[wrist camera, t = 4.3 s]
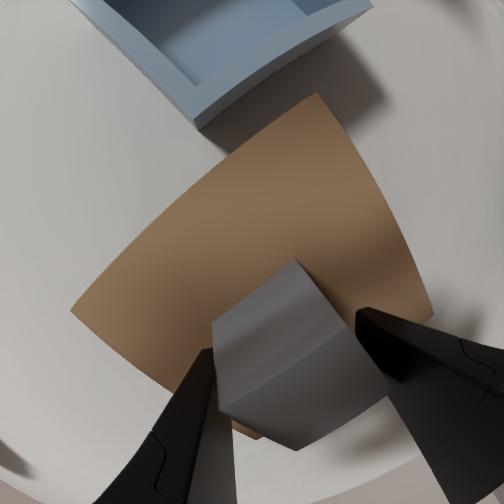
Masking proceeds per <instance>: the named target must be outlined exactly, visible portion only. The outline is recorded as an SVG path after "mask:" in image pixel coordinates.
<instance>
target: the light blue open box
mask: <svg viewBox="0 0 504 504" xmlns="http://www.w3.org/2000/svg"><path fill="white" fill-rule="evenodd" d="M69 1H70V2H71V3H72V4H73V5H74V6H75V7H76V8H77V9H78V10H79V11H80V12H81V13H82V14H83V15H84V16H85V17H86V18H87V19H88V20H89V21H90V22H91V23H92V24H93V25H94V26H95V27H96V28H97V29H98V30H99V31H100V32H101V33H102V34H103V35H104V36H105V37H106V38H107V39H108V40H109V41H110V42H111V43H112V44H114V45H115V46H116V47H117V48H118V49H119V50H120V51H121V52H122V53H123V54H124V55H125V56H126V57H127V58H128V59H129V60H130V61H131V62H132V63H133V64H134V65H135V66H136V67H137V68H138V69H139V70H140V71H141V72H142V73H143V74H144V75H145V76H146V77H147V78H148V79H149V80H150V81H151V82H152V83H153V84H154V85H155V86H156V87H157V88H158V89H159V90H160V91H161V92H162V93H163V94H164V96H165V97H166V98H167V99H168V100H169V101H170V102H171V103H172V104H173V105H174V106H175V107H176V108H177V109H178V110H179V111H180V112H181V113H182V114H183V115H184V117H185V118H186V119H187V120H188V121H189V122H190V123H191V124H192V125H193V126H194V127H195V128H196V129H197V131H199V130H200V129H201V128H203V127H204V126H205V125H206V124H207V123H209V122H210V121H211V120H212V119H213V118H215V117H216V116H217V115H218V114H220V113H221V112H222V111H223V110H225V109H226V108H227V107H228V106H230V105H231V104H232V103H234V102H235V101H236V100H237V99H239V98H240V97H241V96H243V95H244V94H245V93H247V92H248V91H249V90H251V89H252V88H254V87H255V86H256V85H258V84H259V83H261V82H262V81H263V80H265V79H266V78H268V77H269V76H271V75H272V74H274V73H275V72H277V71H278V70H280V69H281V68H283V67H284V66H286V65H287V64H289V63H290V62H292V61H293V60H295V59H297V58H298V57H300V56H301V55H303V54H305V53H306V52H308V51H310V50H311V49H313V48H315V47H316V46H318V45H320V44H322V43H323V42H325V41H327V40H329V39H331V38H332V37H334V36H335V35H336V34H337V33H339V32H340V31H341V30H342V29H344V28H345V27H346V26H348V25H349V24H350V23H352V22H353V21H354V20H356V19H357V18H359V17H360V16H361V15H363V14H364V13H365V12H367V11H368V10H370V9H371V8H373V7H374V6H373V5H372V3H371V2H370V1H369V0H69Z"/></svg>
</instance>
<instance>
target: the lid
mask: <svg viewBox="0 0 504 504" xmlns="http://www.w3.org/2000/svg"><path fill="white" fill-rule="evenodd" d="M364 307H371V308H374V309H377V310H380V311H383V312H386V313H389V314H392V315H394V316H397V317H400V318H403V319H406V320H409V321H412V322H415V323H418V324H421V325H423V324H424V323H425V322H426V321H427V320H428V319H429V318H431V317H432V316H433V315H434V313H433V310H432V307H431V304H430V301H429V298H428V295H427V293H426V290H425V287H424V285H423V282H422V279H421V277H420V274H419V272H418V269H417V267H416V264H415V262H414V260H413V257H412V255H411V253H410V250H409V248H408V246H407V243H406V241H405V239H404V237H403V235H402V233H401V230H400V228H399V226H398V224H397V222H396V220H395V218H394V216H393V214H392V212H391V210H390V208H389V206H388V204H387V202H386V200H385V198H384V196H383V195H382V193H381V191H380V189H379V187H378V185H377V184H376V182H375V180H374V178H373V177H372V175H371V173H370V171H369V170H368V168H367V166H366V164H365V163H364V161H363V159H362V158H361V156H360V155H359V153H358V151H357V150H356V148H355V146H354V145H353V143H352V142H351V140H350V139H349V137H348V136H347V134H346V133H345V131H344V130H343V128H342V127H341V125H340V124H339V122H338V121H337V119H336V118H335V116H334V115H333V113H332V112H331V111H330V109H329V108H328V106H327V105H326V104H325V102H324V101H323V100H322V98H321V97H320V96H319V94H318V93H315V94H313V95H311V96H309V97H307V98H306V99H304V100H303V101H301V102H300V103H298V104H297V105H295V106H294V107H293V108H291V109H290V110H288V111H287V112H285V113H284V114H283V115H281V116H280V117H278V118H277V119H276V120H274V121H273V122H272V123H270V124H269V125H267V126H266V127H265V128H263V129H262V130H261V131H259V132H258V133H257V134H255V135H254V136H253V137H251V138H250V139H249V140H247V141H246V142H245V143H244V144H242V145H241V146H240V147H238V148H237V149H236V150H235V151H233V152H232V153H231V154H230V155H228V156H227V157H226V158H225V159H223V160H222V161H221V162H220V163H219V164H217V165H216V166H215V167H214V168H213V169H211V170H210V171H209V172H208V173H207V174H205V175H204V176H203V177H202V178H201V179H199V180H198V181H197V182H196V183H195V184H194V185H192V186H191V187H190V188H189V189H188V190H187V191H186V192H184V193H183V194H182V195H181V196H180V197H179V198H178V199H177V200H176V201H174V202H173V203H172V204H171V205H170V206H169V207H168V208H167V209H166V210H165V211H163V212H162V213H161V214H160V215H159V216H158V217H157V218H156V219H155V220H154V221H153V222H152V223H151V224H150V225H149V226H148V227H147V228H146V229H144V230H143V231H142V232H141V233H140V234H139V235H138V236H137V237H136V238H135V239H134V240H133V241H132V242H131V243H130V244H129V245H128V246H127V247H126V248H125V249H124V250H123V251H122V252H121V253H120V254H119V255H118V256H117V258H116V259H115V260H114V261H113V262H112V263H111V264H110V265H109V266H108V267H107V268H106V269H105V270H104V271H103V272H102V273H101V274H100V276H99V277H98V278H97V279H96V280H95V281H94V282H93V283H92V284H91V285H90V287H89V288H88V289H87V290H86V291H85V292H84V293H83V294H82V296H81V297H80V298H79V299H78V300H77V302H76V303H75V304H74V306H73V307H72V308H71V310H70V311H71V312H72V313H73V314H74V315H75V316H76V317H77V318H78V319H79V320H80V321H81V322H83V323H84V324H85V325H86V326H87V327H88V328H89V329H90V330H91V331H92V332H94V333H95V334H96V335H97V336H98V337H99V338H100V339H102V340H103V341H104V342H105V343H106V344H107V345H109V346H110V347H111V348H112V349H113V350H115V351H116V352H117V353H118V354H120V355H121V356H122V357H123V358H125V359H126V360H127V361H128V362H130V363H131V364H132V365H134V366H135V367H136V368H138V369H139V370H140V371H142V372H143V373H144V374H146V375H147V376H148V377H150V378H151V379H153V380H154V381H156V382H157V383H158V384H160V385H161V386H163V387H164V388H166V389H167V390H169V391H170V392H172V393H173V394H174V393H175V391H176V389H177V388H178V386H179V385H180V383H181V381H182V380H183V378H184V377H185V375H186V373H187V372H188V370H189V369H190V367H191V365H192V364H193V362H194V361H195V359H196V357H197V356H198V354H199V353H200V351H201V350H202V349H205V348H210V347H213V355H214V365H215V385H216V398H217V410H218V412H219V413H221V414H223V415H225V416H226V417H228V418H230V419H232V428H233V429H235V430H236V431H238V432H240V433H242V434H244V435H246V436H248V437H250V438H253V439H255V440H258V439H260V438H262V437H266V438H268V439H270V440H272V441H274V442H276V443H279V444H281V445H283V446H285V447H287V448H290V449H292V450H294V451H298V450H300V449H302V448H304V447H306V446H308V445H310V444H311V443H313V442H315V441H317V440H319V439H320V438H322V437H324V436H326V435H327V434H329V433H331V432H333V431H334V430H336V429H338V428H339V427H341V426H342V425H344V424H346V423H347V422H349V421H350V420H352V419H353V418H355V417H357V416H358V415H360V414H361V413H363V412H364V411H365V410H367V409H368V408H370V407H371V406H373V405H374V404H375V403H377V402H378V401H380V400H381V399H382V398H384V397H385V396H386V395H388V394H389V393H390V392H392V391H393V390H394V389H393V388H392V387H391V385H390V384H389V382H388V381H387V380H386V378H385V377H384V375H383V374H382V373H381V371H380V370H379V369H378V367H377V366H376V364H375V363H374V362H373V360H372V359H371V358H370V356H369V355H368V354H367V352H366V351H365V349H364V348H363V347H362V345H361V344H360V343H359V341H358V340H357V338H356V335H355V313H356V311H357V310H358V309H361V308H364Z"/></svg>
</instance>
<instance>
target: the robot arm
mask: <svg viewBox="0 0 504 504" xmlns="http://www.w3.org/2000/svg"><path fill="white" fill-rule="evenodd" d="M355 335H356V338H357V340H358V341H359V343H360V344H361V345H362V347H363V348H364V349H365V351H366V352H367V354H368V355H369V356H370V358H371V359H372V360H373V362H374V363H375V364H376V366H377V367H378V369H379V370H380V371H381V373H382V374H383V375H384V377H385V378H386V380H387V381H388V382H389V384H390V385H391V387H392V388H393V389H394V390H393V391H392V392H390V393H389V394H388V395H387V396H388V397H389V399H390V401H391V402H392V404H393V405H394V407H395V409H396V410H397V412H398V414H399V415H400V417H401V419H402V420H403V422H404V424H405V425H406V427H407V429H408V430H409V432H410V434H411V435H412V437H413V439H414V440H415V442H416V444H417V446H418V447H419V449H420V451H421V452H422V454H423V456H424V458H425V459H426V461H427V463H428V465H429V466H430V468H431V469H432V472H433V474H434V475H435V477H436V479H437V481H438V483H439V485H440V486H441V488H442V490H443V492H444V494H445V496H446V497H447V499H448V501H449V503H450V504H476V503H477V502H479V501H480V500H481V499H483V498H484V497H486V496H487V495H489V494H490V493H491V492H493V493H494V495H495V496H496V498H497V500H498V501H499V502H500V504H504V350H503V349H499V348H494V347H490V346H486V345H482V344H479V343H476V342H472V341H469V340H466V339H463V338H458V337H457V336H454V335H451V334H448V333H445V332H442V331H439V330H436V329H433V328H430V327H427V326H424V325H421V324H418V323H415V322H412V321H409V320H406V319H403V318H400V317H397V316H394V315H392V314H389V313H386V312H383V311H380V310H377V309H374V308H371V307H364V308H361V309H358V310H357V311H356V313H355ZM92 504H237V496H236V482H235V468H234V452H233V435H232V419H230V418H228V417H226V416H225V415H223V414H221V413H219V412H218V410H217V398H216V385H215V365H214V355H213V347H210V348H205V349H202V350H201V351H200V353H199V354H198V356H197V357H196V359H195V361H194V362H193V364H192V365H191V367H190V369H189V370H188V372H187V373H186V375H185V377H184V378H183V380H182V381H181V383H180V385H179V386H178V388H177V389H176V391H175V393H174V394H173V396H172V397H171V399H170V401H169V402H168V404H167V405H166V407H165V409H164V410H163V412H162V413H161V415H160V417H159V418H158V420H157V421H156V423H155V425H154V426H153V428H152V431H150V432H149V434H148V435H147V437H146V439H145V440H144V442H143V443H142V445H141V446H140V448H139V449H138V451H137V452H136V453H135V455H134V456H133V457H132V459H131V460H130V461H129V463H128V464H127V465H126V466H125V468H124V469H123V470H122V471H121V472H120V474H119V475H118V476H117V477H116V478H115V479H114V481H113V482H112V483H111V484H110V485H109V486H108V488H107V489H106V490H105V491H104V492H103V493H102V495H101V496H100V497H99V498H98V499H97V500H96V501H95V502H93V503H92Z"/></svg>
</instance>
